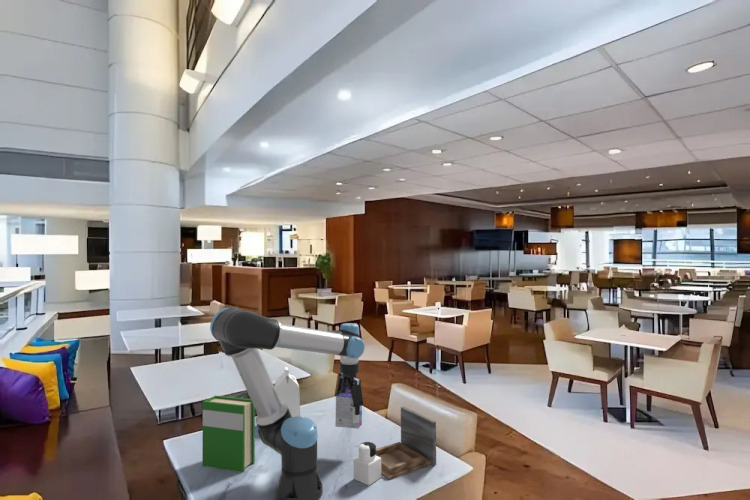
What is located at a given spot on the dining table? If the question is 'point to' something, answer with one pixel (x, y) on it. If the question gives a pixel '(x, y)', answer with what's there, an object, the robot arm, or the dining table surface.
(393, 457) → the wall dock
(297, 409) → the milk
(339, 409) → the ink cartridge box
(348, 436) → the dining table surface
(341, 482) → the dining table surface
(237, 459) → the hardback book
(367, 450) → the medicine bottle
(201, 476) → the dining table surface
